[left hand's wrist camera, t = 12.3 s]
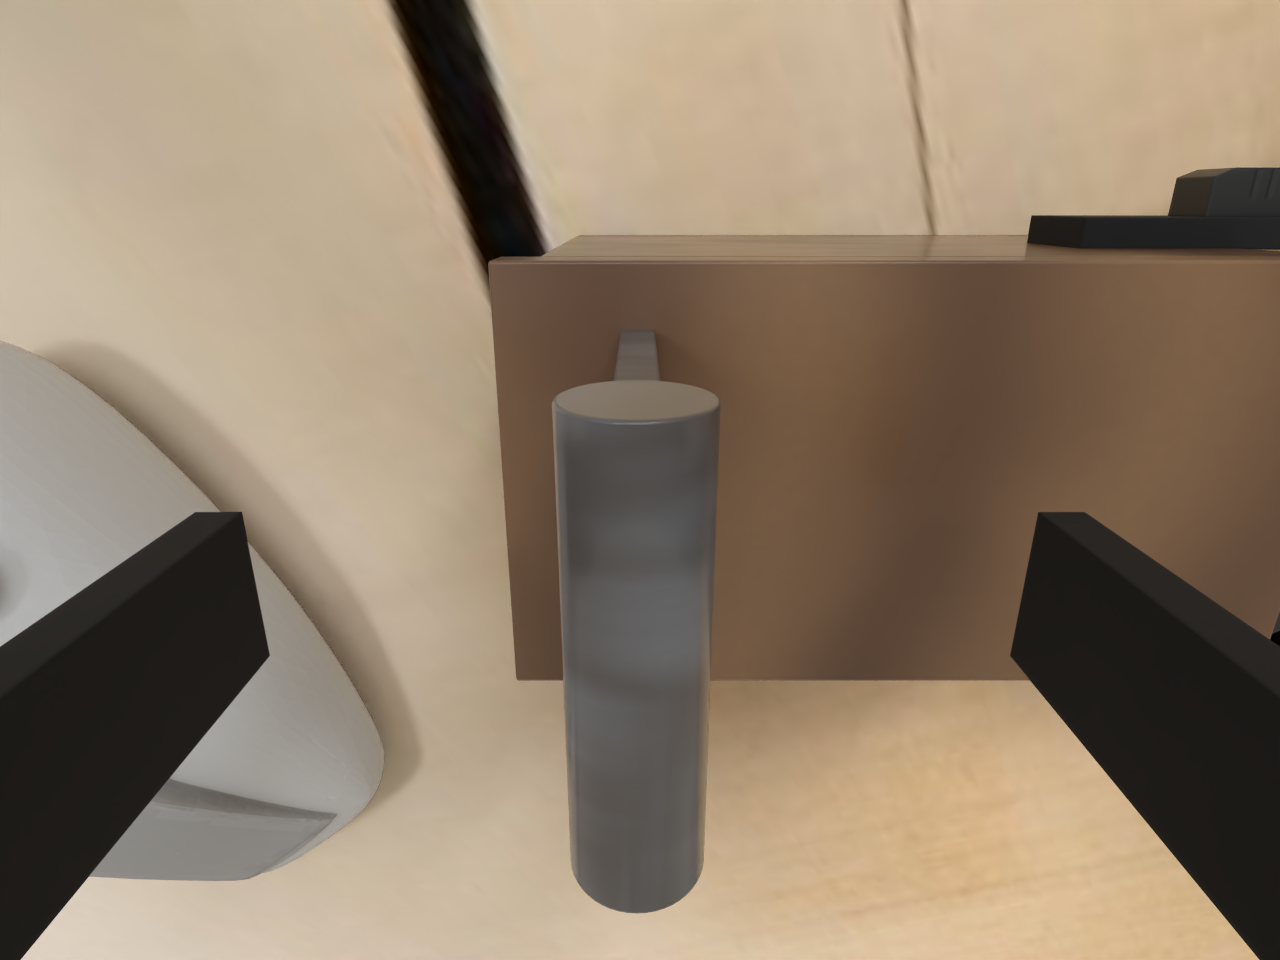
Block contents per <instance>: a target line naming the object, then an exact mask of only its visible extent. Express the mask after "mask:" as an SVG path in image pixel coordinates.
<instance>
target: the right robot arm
mask: <svg viewBox="0 0 1280 960" xmlns="http://www.w3.org/2000/svg"><path fill="white" fill-rule="evenodd" d="M1027 243H1033V244H1043V245H1052V246H1062V247H1072V248H1239V249H1280V168H1224V169H1206V170H1196V171H1194V172H1191V173H1189V174H1186V175H1183V176H1181V177H1178V178H1177V180H1176V184H1175V188H1174V193H1173V197H1172V201H1171V206H1170V210H1169V214H1168V216H1032V217H1031V222H1030V228H1029V234H1028V240H1027ZM1270 640H1271V641H1272V642H1274V643H1275V644H1277V645H1278V646H1280V611H1279V614H1278V617H1277V620H1276V623H1275V626H1274V629H1273V632H1272V635H1271V638H1270Z"/></svg>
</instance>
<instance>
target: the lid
mask: <svg viewBox="0 0 1280 960" xmlns="http://www.w3.org/2000/svg"><path fill="white" fill-rule="evenodd" d="M489 279H490V294H491V309H492V324H493V339H494V353H495V368H496V383H497V398H498V413H499V428H500V442H501V457H502V472H503V487H504V502H505V517H506V531H507V546H508V561H509V576H510V591H511V606H512V620H513V635H514V650H515V665H516V678H517V680H563V683H564V707H565V731H566V755H567V778H568V802H569V826H570V850H571V865H572V870H573V873H574V876H575V878H576V880H577V882H578V883H579V885H580V886H581V888H582V889H583V890H584V891H585V892H586V893H587V895H588V896H590V897H591V898H592V899H593V900H595V901H596V902H598V903H600V904H601V905H603V906H605V907H608V908H610V909H613V910H617V911H621V912H626V913H648V912H653V911H658V910H661V909H664V908H666V907H669V906H671V905H673V904H675V903H676V902H678V901H679V900H681V899H682V898H683V897H684V896H686V895H687V894H688V893H689V892H690V891H691V889H692V888H693V887H694V885H695V884H696V882H697V881H698V879H699V877H700V874H701V871H702V868H703V861H704V835H705V809H706V783H707V756H708V730H709V703H710V680H1029V678H1028V677H1027V676H1026V675H1025V673H1024V672H1023V671H1022V670H1021V669H1020V667H1019V666H1018V665H1017V664H1016V662H1015V661H1014V660H1013V659H1012V658H1011V656H1010V653H1011V648H1012V643H1013V638H1014V633H1015V628H1016V623H1017V618H1018V613H1019V608H1020V602H1021V597H1022V592H1023V587H1024V582H1025V577H1026V572H1027V567H1028V562H1029V557H1030V552H1031V546H1032V541H1033V536H1034V531H1035V526H1036V521H1037V516H1038V512H1085V513H1087V514H1088V515H1090V516H1091V517H1093V518H1094V519H1096V520H1097V521H1098V522H1100V523H1101V524H1103V525H1104V526H1106V527H1107V528H1109V529H1110V530H1112V531H1113V532H1114V533H1116V534H1117V535H1119V536H1120V537H1122V538H1123V539H1125V540H1126V541H1127V542H1129V543H1130V544H1132V545H1133V546H1135V547H1136V548H1138V549H1139V550H1141V551H1142V552H1143V553H1145V554H1146V555H1148V556H1149V557H1151V558H1152V559H1154V560H1155V561H1156V562H1158V563H1159V564H1161V565H1162V566H1164V567H1165V568H1167V569H1168V570H1169V571H1171V572H1172V573H1174V574H1175V575H1177V576H1178V577H1180V578H1181V579H1183V580H1184V581H1185V582H1187V583H1188V584H1190V585H1191V586H1193V587H1194V588H1196V589H1197V590H1198V591H1200V592H1201V593H1203V594H1204V595H1206V596H1207V597H1209V598H1210V599H1212V600H1213V601H1214V602H1216V603H1217V604H1219V605H1220V606H1222V607H1223V608H1225V609H1226V610H1227V611H1229V612H1230V613H1232V614H1233V615H1235V616H1236V617H1238V618H1239V619H1241V620H1242V621H1243V622H1245V623H1246V624H1248V625H1249V626H1251V627H1252V628H1254V629H1255V630H1256V631H1258V632H1259V633H1261V634H1262V635H1264V636H1265V637H1267V638H1268V639H1270V638H1271V635H1272V632H1273V629H1274V626H1275V623H1276V620H1277V617H1278V614H1279V611H1280V257H499V258H497V259H494V260H492V261H489Z"/></svg>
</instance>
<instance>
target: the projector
mask: <svg viewBox="0 0 1280 960" xmlns="http://www.w3.org/2000/svg"><path fill="white" fill-rule="evenodd" d="M195 512H220V511H219V509H218V508H217V507H216V506H215V505H214V504H213V503H212V502H211V501H210V500H209V499H208V498H207V497H206V496H205V495H204V493H203V492H202V491H201V490H200V489H199V488H198V487H197V486H196V485H195V484H194V483H193V482H192V481H191V480H190V479H189V478H188V477H187V476H186V475H185V474H184V473H183V472H182V471H181V470H180V469H179V468H178V467H177V466H176V465H175V464H174V463H173V462H172V461H171V460H170V459H169V458H168V457H167V456H166V455H164V454H163V453H162V452H161V451H160V450H159V449H158V448H157V447H156V446H155V445H154V444H153V443H152V442H151V441H150V440H149V439H148V438H147V437H146V436H145V435H144V434H142V433H141V432H140V431H139V430H138V429H137V428H136V427H135V426H133V425H132V424H131V423H130V422H129V421H128V420H127V419H125V418H124V417H123V416H122V415H121V414H120V413H119V412H118V411H116V410H115V409H114V408H113V407H112V406H110V405H109V404H108V403H107V402H105V401H104V400H103V399H102V398H100V397H99V396H98V395H96V394H95V393H94V392H93V391H91V390H90V389H89V388H88V387H86V386H85V385H84V384H82V383H81V382H79V381H78V380H76V379H75V378H73V377H72V376H70V375H69V374H68V373H66V372H65V371H63V370H62V369H60V368H59V367H57V366H56V365H54V364H52V363H50V362H48V361H47V360H45V359H43V358H41V357H39V356H37V355H35V354H33V353H31V352H28V351H26V350H24V349H21V348H19V347H16V346H14V345H11V344H8V343H5V342H1V341H0V646H2V645H3V644H5V643H6V642H8V641H9V640H10V639H12V638H13V637H15V636H16V635H18V634H19V633H21V632H22V631H24V630H25V629H26V628H28V627H29V626H31V625H32V624H34V623H35V622H37V621H38V620H39V619H41V618H42V617H44V616H45V615H47V614H48V613H50V612H51V611H53V610H54V609H55V608H57V607H58V606H60V605H61V604H63V603H64V602H66V601H67V600H68V599H70V598H71V597H73V596H74V595H76V594H77V593H79V592H80V591H82V590H83V589H84V588H86V587H87V586H89V585H90V584H92V583H93V582H95V581H96V580H97V579H99V578H100V577H102V576H103V575H105V574H106V573H108V572H109V571H111V570H112V569H113V568H115V567H116V566H118V565H119V564H121V563H122V562H124V561H125V560H126V559H128V558H129V557H131V556H132V555H134V554H135V553H137V552H138V551H139V550H141V549H142V548H144V547H145V546H147V545H148V544H150V543H151V542H153V541H154V540H155V539H157V538H158V537H160V536H161V535H163V534H164V533H166V532H167V531H168V530H170V529H171V528H173V527H174V526H176V525H177V524H179V523H180V522H182V521H183V520H184V519H186V518H187V517H189V516H190V515H192V514H193V513H195ZM248 546H249V552H250V557H251V562H252V567H253V572H254V577H255V582H256V587H257V592H258V597H259V602H260V608H261V613H262V618H263V623H264V628H265V633H266V638H267V643H268V648H269V653H270V656H269V658H268V659H267V660H266V661H265V662H264V664H263V665H262V666H261V667H260V669H259V670H258V671H257V672H256V673H255V675H254V676H253V677H252V678H251V680H250V681H249V682H248V683H247V684H246V686H245V687H244V688H243V689H242V690H241V692H240V693H239V694H238V695H237V697H236V698H235V699H234V700H233V701H232V703H231V704H230V705H229V706H228V708H227V709H226V710H225V711H224V712H223V714H222V715H221V716H220V717H219V718H218V720H217V721H216V722H215V723H214V725H213V726H212V727H211V728H210V729H209V731H208V732H207V733H206V734H205V736H204V737H203V738H202V739H201V740H200V742H199V743H198V744H197V745H196V746H195V748H194V749H193V750H192V751H191V753H190V754H189V755H188V756H187V757H186V759H185V760H184V761H183V762H182V764H181V765H180V766H179V767H178V768H177V770H176V771H175V772H174V773H173V774H172V776H171V777H170V778H169V779H168V781H167V782H166V783H165V784H164V785H163V787H162V788H161V789H160V790H159V792H158V793H157V794H156V795H155V796H154V798H153V799H152V800H151V801H150V802H149V804H148V805H147V806H146V807H145V809H144V810H143V811H142V812H141V813H140V815H139V816H138V817H137V818H136V820H135V821H134V822H133V823H132V824H131V826H130V827H129V828H128V829H127V830H126V832H125V833H124V834H123V835H122V837H121V838H120V839H119V840H118V841H117V843H116V844H115V845H114V846H113V848H112V849H111V850H110V851H109V852H108V854H107V855H106V856H105V857H104V858H103V860H102V861H101V862H100V863H99V865H98V866H97V867H96V868H95V869H94V871H93V872H92V873H91V874H90V876H92V877H110V878H129V879H155V880H203V881H232V880H244V879H249V878H252V877H254V876H256V875H259V874H261V873H264V872H268V871H271V870H274V869H276V868H279V867H281V866H283V865H285V864H287V863H289V862H291V861H293V860H295V859H297V858H299V857H300V856H302V855H303V854H305V853H307V852H308V851H310V850H311V849H313V848H314V847H316V846H317V845H319V844H321V843H322V842H323V841H325V840H326V839H328V838H329V837H330V836H332V835H333V834H335V833H336V832H337V831H339V830H340V829H342V828H343V827H344V826H345V825H347V824H348V823H349V822H350V821H352V820H353V819H354V818H355V817H356V816H357V815H358V814H359V813H360V812H361V811H362V810H363V809H364V808H365V807H366V806H367V805H368V803H369V802H370V800H371V799H372V797H373V796H374V794H375V792H376V790H377V788H378V786H379V784H380V781H381V777H382V773H383V768H384V749H383V745H382V741H381V738H380V736H379V733H378V731H377V729H376V727H375V724H374V722H373V720H372V718H371V716H370V714H369V712H368V711H367V709H366V707H365V705H364V703H363V701H362V700H361V698H360V696H359V694H358V692H357V691H356V689H355V687H354V686H353V684H352V683H351V681H350V679H349V678H348V676H347V674H346V673H345V671H344V669H343V668H342V666H341V665H340V663H339V661H338V660H337V658H336V657H335V655H334V654H333V652H332V651H331V649H330V648H329V646H328V645H327V643H326V642H325V640H324V639H323V638H322V636H321V635H320V633H319V632H318V630H317V629H316V627H315V626H314V624H313V623H312V622H311V620H310V619H309V618H308V616H307V615H306V613H305V612H304V611H303V609H302V608H301V607H300V605H299V604H298V603H297V601H296V600H295V599H294V597H293V596H292V595H291V594H290V592H289V591H288V590H287V589H286V587H285V586H284V585H283V583H282V582H281V581H280V580H279V578H278V577H277V576H276V575H275V573H274V572H273V571H272V570H271V568H270V567H269V566H268V565H267V564H266V563H265V561H264V560H263V559H262V558H261V557H260V556H259V554H258V553H257V552H256V551H255V550H254V549H253V547H252V546H251V545H250V544H249V543H248Z"/></svg>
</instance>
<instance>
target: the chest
mask: <svg viewBox="0 0 1280 960" xmlns="http://www.w3.org/2000/svg"><path fill="white" fill-rule="evenodd" d="M1027 240H1028V235H580V236H577V237H575V238H573V239H572V240H570V241H568V242H566V243H564V244H562V245H561V246H559V247H557V248H555V249H553V250H551V251H550V252H548V253H546V254H544V255H542V256H540V257H1280V252H1278V251H1265V250H1252V249H1239V248H1072V247H1062V246H1052V245H1043V244H1033V243H1027Z"/></svg>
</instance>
